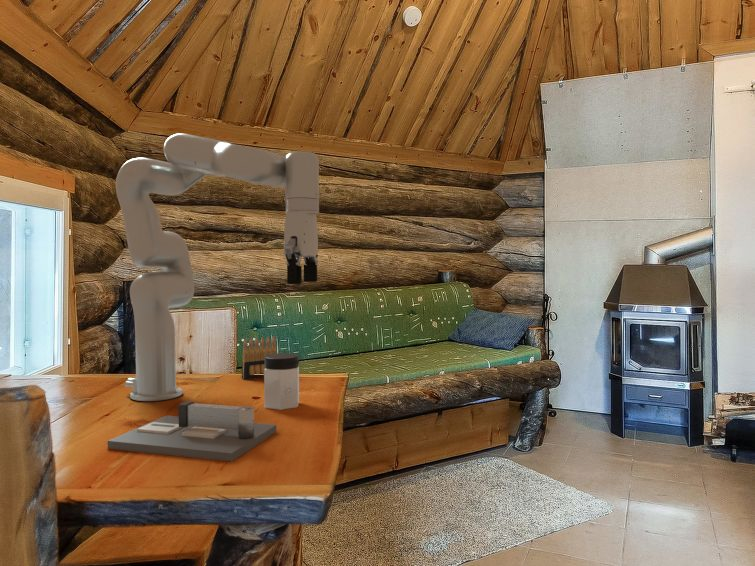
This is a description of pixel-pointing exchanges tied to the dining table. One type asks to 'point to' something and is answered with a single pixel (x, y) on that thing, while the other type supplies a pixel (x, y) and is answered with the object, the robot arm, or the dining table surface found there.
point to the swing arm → (217, 417)
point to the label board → (189, 440)
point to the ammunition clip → (256, 357)
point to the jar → (281, 381)
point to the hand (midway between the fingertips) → (302, 282)
